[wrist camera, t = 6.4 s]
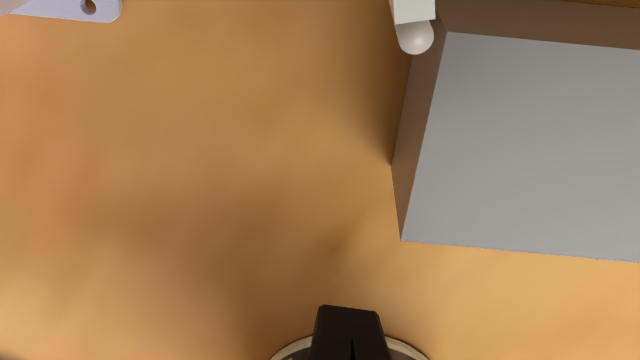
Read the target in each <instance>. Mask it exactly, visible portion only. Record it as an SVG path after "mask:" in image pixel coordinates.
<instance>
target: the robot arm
mask: <svg viewBox="0 0 640 360" xmlns="http://www.w3.org/2000/svg"><path fill="white" fill-rule="evenodd" d="M91 1H92V2H94V3H95V6H96V11H95V12H94V11H91V10H89V9H88V8H87V6H86V4H85V0H0V17H2V16H3V15H5V14H17V15H28V16H38V17H49V18H59V19H70V20H80V21H91V22H101V23H111V22H113V21H115V20H116V19H117V18H119V17H120V15H121V13H122V2H121V0H91ZM307 360H393V359H392V356H391V353H390V351H389V348H388V345H387V342H386V339H385V336H384V333H383V329H382V326H381V323H380V319H379V315H378V314H377V313H376V312H375V311H368V310H361V309H353V308H346V307H339V306H331V305H322V306H320V307H319V308H318V313H317V317H316V322H315V327H314V332H313V336H312V341H311V346H310V350H309V355H308V359H307Z"/></svg>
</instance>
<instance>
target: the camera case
mask: <svg viewBox="0 0 640 360" xmlns="http://www.w3.org/2000/svg"><path fill="white" fill-rule="evenodd" d="M429 22H430V24H431V27H432V29H433V32H434V39H433V42H432V44H431V46H430V47H429V48H428V49H427V50H426V51H425V52H423V53H420V54H415V55H414V54H413V55H412V60H411V65H410V71H409V76H408V81H407V86H406V92H405V97H404V102H403V107H402V113H401V118H400V123H399V128H398V134H397V139H396V144H395V150H394V155H393V160H392V165H391V170H392V178H393V186H394V194H395V201H396V209H397V217H398V225H399V232H400V240H401V241H407V242H418V243H429V244H440V245H451V246H462V247H473V248H483V249H494V250H505V251H516V252H527V253H538V254H549V255H559V256H570V257H581V258H592V259H603V260H614V261H624V262H635V263H640V8H631V7H621V6H611V5H600V4H590V3H580V2H569V1H559V0H435V19H432V20H429Z"/></svg>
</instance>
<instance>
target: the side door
mask: <svg viewBox="0 0 640 360" xmlns="http://www.w3.org/2000/svg"><path fill="white" fill-rule="evenodd" d="M388 1H389V5H390V9H391V13H392V17H393V22H394V26H395V30H396V34H397V38H398V42H399V45H400V47H401V48H402V50H403V51H405V52H406V53H409V54H414V55H415V54H420V53H423V52H425V51H426V50H427V49H428V48H429V47H430V46H431V44H432V42H433V39H434V32H433V29H432V27H431V24H430V22H429V20H432V19H435V0H388Z"/></svg>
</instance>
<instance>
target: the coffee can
mask: <svg viewBox="0 0 640 360" xmlns="http://www.w3.org/2000/svg"><path fill="white" fill-rule="evenodd" d="M312 336H313V335H312ZM312 336H309V337H305V338H303V339H300V340H298V341H295V342H293V343H291V344H289V345H287V346H285V347H284V348H283V349H281V350H280V351H279V352H277V353H276V354H275V355H274V356H273V357H272V358H271V359H270V360H307V359H308V355H309V350H310V346H311V341H312ZM385 339H386V342H387V345H388V348H389V351H390V353H391V356H392V359H393V360H429V359H428V358H426V357H425V356H424V355H423V354H421V353H420V352H418V351H417V350H416V349H414V348H413V347H411V346H409V345H408V344H406V343H404V342H401V341H399V340H396V339H393V338H390V337H387V336H385Z"/></svg>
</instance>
